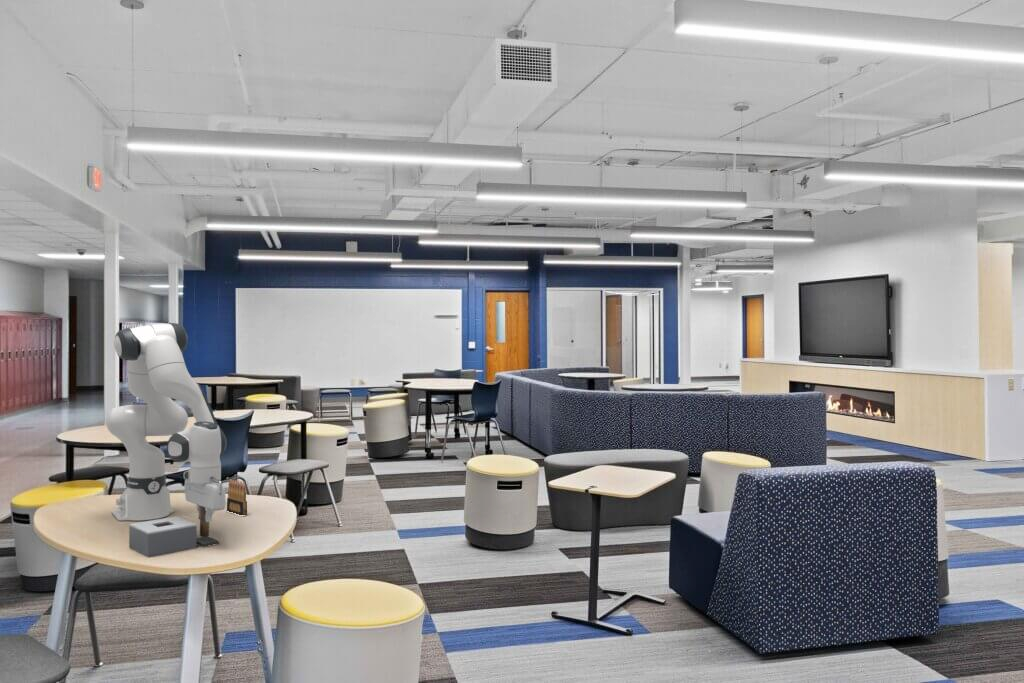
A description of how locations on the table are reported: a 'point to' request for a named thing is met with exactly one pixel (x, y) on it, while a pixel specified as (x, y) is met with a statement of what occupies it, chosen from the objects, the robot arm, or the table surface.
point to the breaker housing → (162, 536)
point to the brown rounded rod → (203, 523)
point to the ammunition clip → (237, 498)
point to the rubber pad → (206, 541)
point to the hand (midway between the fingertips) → (205, 520)
